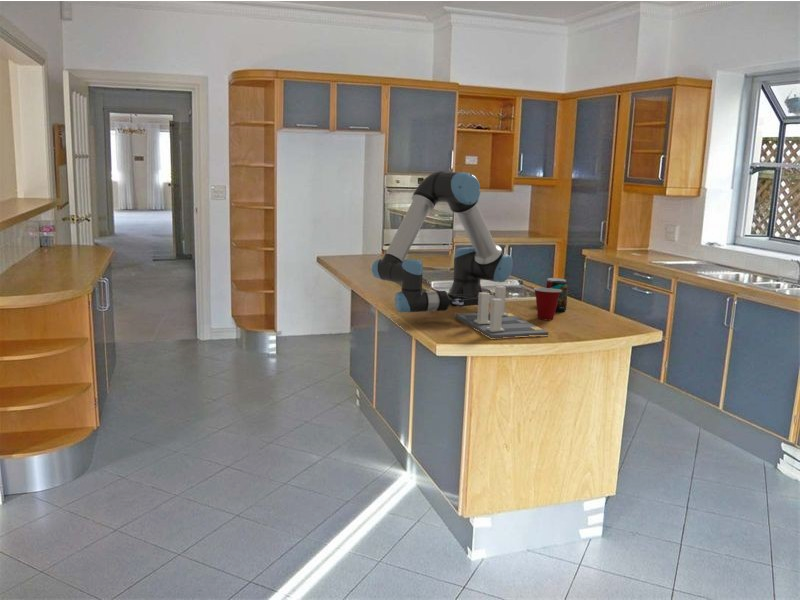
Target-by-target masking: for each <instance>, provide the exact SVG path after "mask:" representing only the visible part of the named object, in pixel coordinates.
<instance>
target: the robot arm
mask: <svg viewBox="0 0 800 600" xmlns="http://www.w3.org/2000/svg"><path fill="white" fill-rule="evenodd" d="M480 190H481V185H480V182H479V180H478V178H477V177H476V176H475V175H474V174H472V173H468V172H464V171H459V172H456V171H440V170H438V171H435V172H433V173H430V174H429V175H428V176H427V177H425V178H424V179H423V180H422V181H421V182H420V183H419V184H418V186H417V187H416V189H415V190H414V192H413V194H412V196H411V200H412V202H411V203H410V205H409V208H408V209H407V211H406V213H405V215H404V217H403V219H402V221H401V223H400V225H399V227H398V229H397V230H396V233H395V234H394V236H393V238H392V240H391V241H390V244H389V246H388V248H387V250H386V252H385V253H384V255H383V257H382V259H381V258H380V259H377V260H375V261H374V262H373V264H372V265H371V266H372V267H371V273H372V275H373V277H374V278H376V279H378V280H381V281H388V282H392V283H397V284H401V289H400V290H401V291H398V292H396V293H395V296H394V308H395V309H396V311H397V312H400V313H408V314H409V313H417V312H418V313H419V312H427V313H428V314H429V313H430V312H436V311H437V312H445V311H447V310H448V309H449V306H451V307H455V308H456V307H458V308H463V307H469V306H470V307H471V306H478V296H479V293H480V292H483V289H482V285H481V280H485V281H491V282H495V283H497V282H498V283H503V282H505V281H507V280H508V278H510V276H511V273H512V271H513V267H514V262H513V257H512V256H511V255H510V254H506V253H505V254H504V252H503V249H502V248H501V246H500V245H498V244H496V243H495V241H494V239H493V236H492V234H491V232H490V229H489V227H488V225H487V223H486V221H485V218H484V217H483V214H482V212H481V209H480V207H479V206H478V203H479V200H480V199H479V198H480V195H481V191H480ZM440 202H441V203H447V204H448V206H449V208H450V210H451V212H452V213H454V214H457V216H458V219H459V221H460V222H461V224H462V226H463V227H462V228H463V229H464V231H465V233H466V235H467V237H468V239H469V241H470V243H471V245H472V246H471V247H459V248H456V250H455V251H454V257H453V282H452V284H451V287H450V290H449V293H448V292H447V291H446V290H436V291H435V290H425V291H423V275H424V270H423V261H422V260H420V259H415V258H406V257H407V255H408V253H409V251H410V249H411V247H412V245H413V243H414V241H415V239H416V238H417V236H418V234H419V232H420V229H421V228H422V226H423V224H424V223H425V220H426V219H427V216H428V214H429V213H430V211H431V210H434V209H435V207H436V205H437V204H438V203H440ZM491 299H495V294H490V296H489V304H491Z"/></svg>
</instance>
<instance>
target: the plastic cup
mask: <svg viewBox="0 0 800 600" xmlns="http://www.w3.org/2000/svg"><path fill="white" fill-rule="evenodd" d="M533 290H534V293H535V302H536V310H537V311H536V312H537V317H538V319H539V318H540V319H539V320H542V319H547V320H546V321H549V320H548V319H552V320H554V317H555V315H556V314H555V313H556V312H555V311H556V307H557V303H558V299H559V295H560V293H561V292H562V290H559V289H552V288H546V287H534V288H533Z"/></svg>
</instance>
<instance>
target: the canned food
mask: <svg viewBox="0 0 800 600" xmlns="http://www.w3.org/2000/svg"><path fill="white" fill-rule="evenodd" d="M553 281H564V282H567V279H564V278H559V277H548V278H547V280H546V287H545V288H550V286H551V284H552V282H553Z"/></svg>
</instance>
